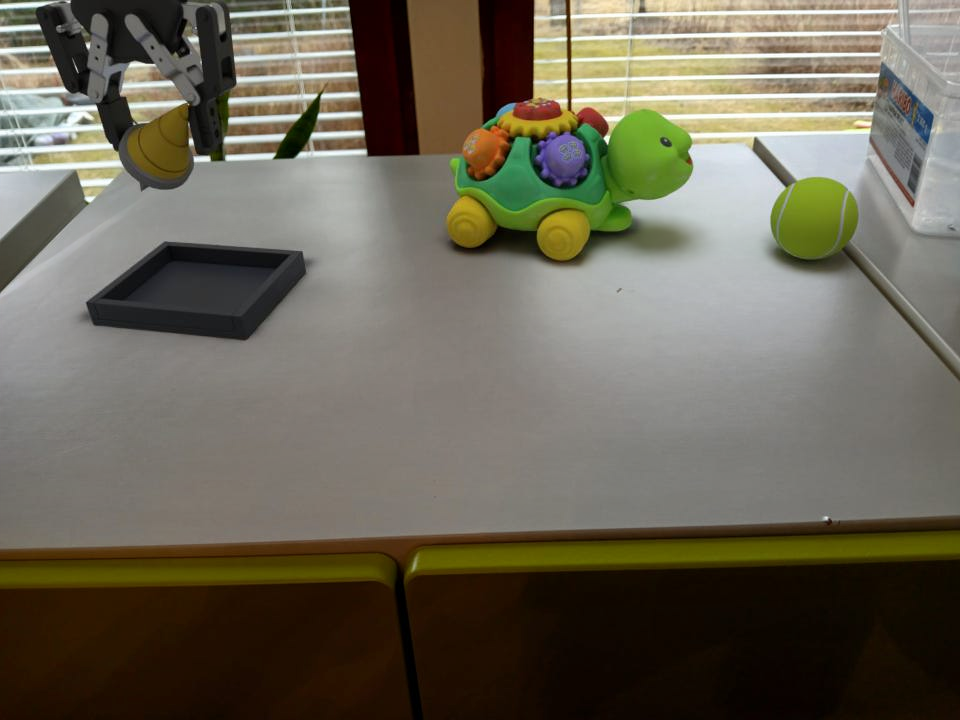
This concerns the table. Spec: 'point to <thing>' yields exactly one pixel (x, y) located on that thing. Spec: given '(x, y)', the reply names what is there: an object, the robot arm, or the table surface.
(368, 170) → the table surface
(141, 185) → the yellow spinning top
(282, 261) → the black tray
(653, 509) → the table surface
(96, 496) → the table surface
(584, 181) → the turtle toy
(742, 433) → the table surface
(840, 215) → the tennis ball
